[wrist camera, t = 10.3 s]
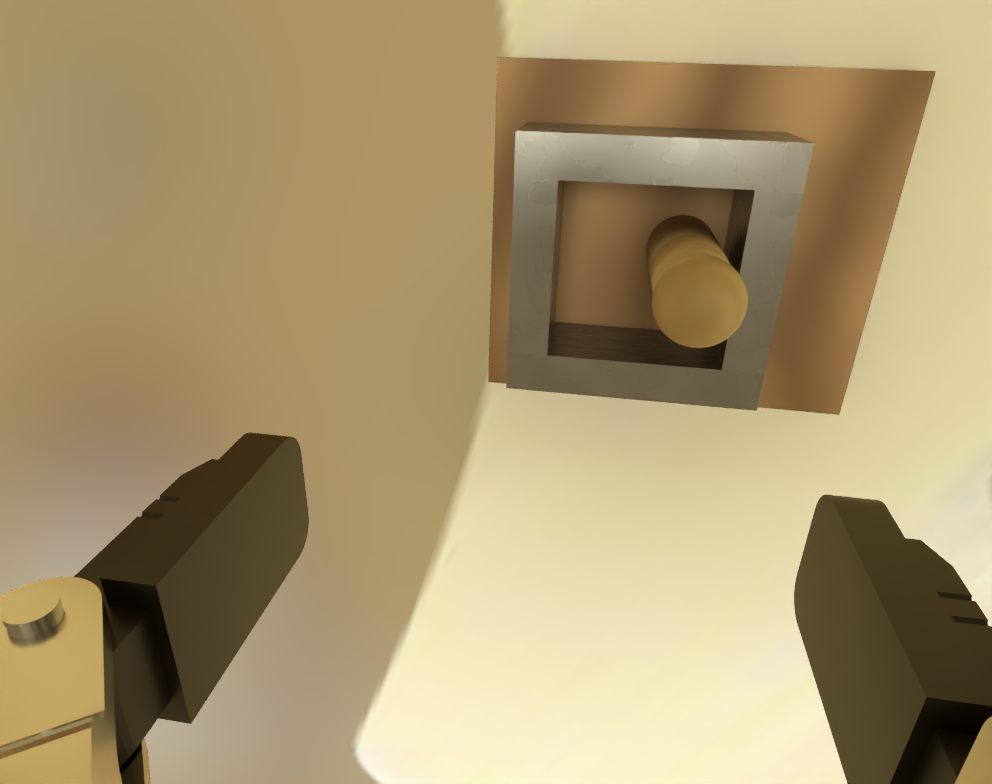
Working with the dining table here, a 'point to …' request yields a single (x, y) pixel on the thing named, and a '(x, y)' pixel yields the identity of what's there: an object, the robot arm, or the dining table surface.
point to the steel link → (634, 351)
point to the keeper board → (717, 208)
